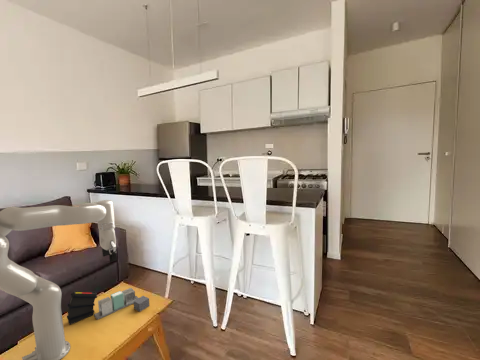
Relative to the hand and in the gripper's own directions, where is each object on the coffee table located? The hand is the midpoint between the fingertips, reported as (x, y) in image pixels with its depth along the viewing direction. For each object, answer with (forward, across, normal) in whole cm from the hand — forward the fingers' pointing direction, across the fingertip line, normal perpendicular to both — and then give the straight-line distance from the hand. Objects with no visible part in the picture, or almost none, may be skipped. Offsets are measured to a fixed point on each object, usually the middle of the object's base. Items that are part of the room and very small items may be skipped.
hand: (109, 258), depth 128 cm
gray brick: (+30, +5, +12) cm, 33 cm away
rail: (+30, -4, +3) cm, 31 cm away
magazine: (+31, -9, -12) cm, 34 cm away
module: (+29, -4, +3) cm, 30 cm away
